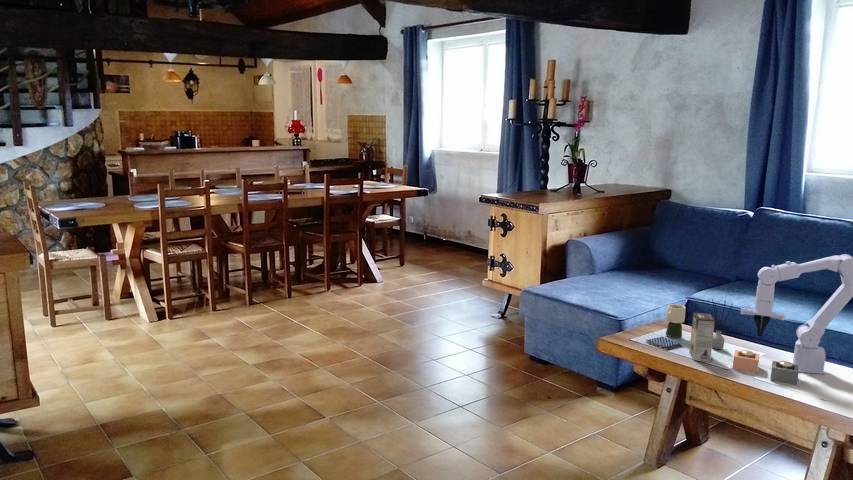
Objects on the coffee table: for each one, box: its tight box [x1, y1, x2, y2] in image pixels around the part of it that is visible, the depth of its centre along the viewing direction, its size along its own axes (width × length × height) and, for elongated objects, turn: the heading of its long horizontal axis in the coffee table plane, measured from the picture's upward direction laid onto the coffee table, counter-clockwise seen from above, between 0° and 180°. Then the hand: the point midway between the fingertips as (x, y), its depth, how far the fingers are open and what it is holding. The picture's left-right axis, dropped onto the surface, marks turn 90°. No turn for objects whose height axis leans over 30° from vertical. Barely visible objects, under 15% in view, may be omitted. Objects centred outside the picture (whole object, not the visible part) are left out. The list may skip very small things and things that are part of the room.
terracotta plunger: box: [740, 349, 754, 358], centre depth 241 cm, size 5×5×6 cm
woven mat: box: [645, 336, 683, 351], centre depth 265 cm, size 10×11×2 cm
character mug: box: [665, 303, 687, 339], centre depth 275 cm, size 11×7×13 cm, turn 125°
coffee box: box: [688, 312, 716, 362], centre depth 250 cm, size 9×6×16 cm
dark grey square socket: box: [770, 360, 800, 386], centre depth 231 cm, size 8×8×5 cm
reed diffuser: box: [711, 298, 733, 350], centre depth 260 cm, size 10×7×20 cm
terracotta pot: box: [732, 350, 760, 374], centre depth 241 cm, size 8×8×5 cm
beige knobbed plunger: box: [778, 360, 793, 369], centre depth 231 cm, size 5×5×6 cm
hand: (759, 335), depth 246 cm, fingers closed
